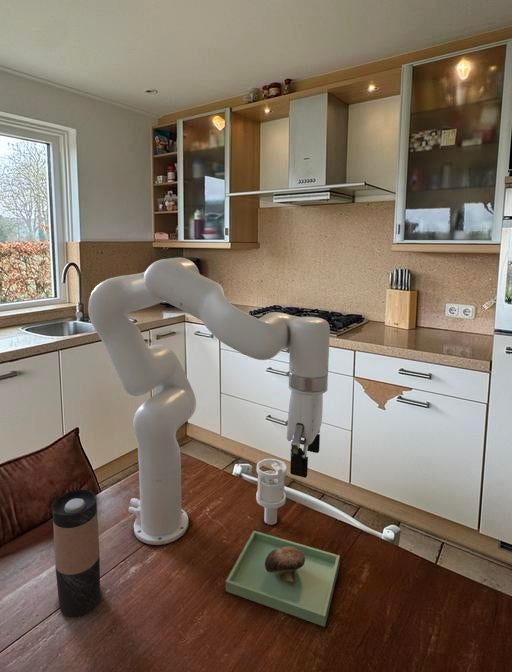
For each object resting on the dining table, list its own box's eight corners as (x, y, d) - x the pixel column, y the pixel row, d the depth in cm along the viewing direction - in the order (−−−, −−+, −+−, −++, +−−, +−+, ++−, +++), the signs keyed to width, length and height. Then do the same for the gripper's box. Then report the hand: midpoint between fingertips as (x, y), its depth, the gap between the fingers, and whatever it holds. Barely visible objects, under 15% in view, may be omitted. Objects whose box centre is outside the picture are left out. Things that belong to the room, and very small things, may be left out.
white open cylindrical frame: (266, 534, 97) (267, 473, 95) (250, 516, 103) (251, 458, 101) (291, 524, 100) (292, 464, 98) (274, 507, 106) (275, 451, 104)
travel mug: (109, 589, 82) (105, 493, 79) (82, 623, 74) (77, 519, 72) (77, 578, 84) (72, 485, 81) (48, 611, 77) (41, 510, 74)
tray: (225, 591, 81) (225, 581, 81) (253, 538, 95) (253, 530, 95) (325, 627, 74) (325, 616, 74) (339, 564, 88) (339, 555, 88)
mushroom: (304, 585, 78) (295, 546, 81) (264, 593, 80) (256, 555, 83) (313, 575, 85) (304, 540, 88) (276, 583, 87) (269, 548, 90)
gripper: (301, 365, 92) (299, 439, 94) (275, 392, 76) (273, 481, 78) (336, 370, 89) (332, 446, 91) (316, 399, 73) (313, 491, 75)
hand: (305, 462), depth 85 cm, fingers open, 9 cm apart
